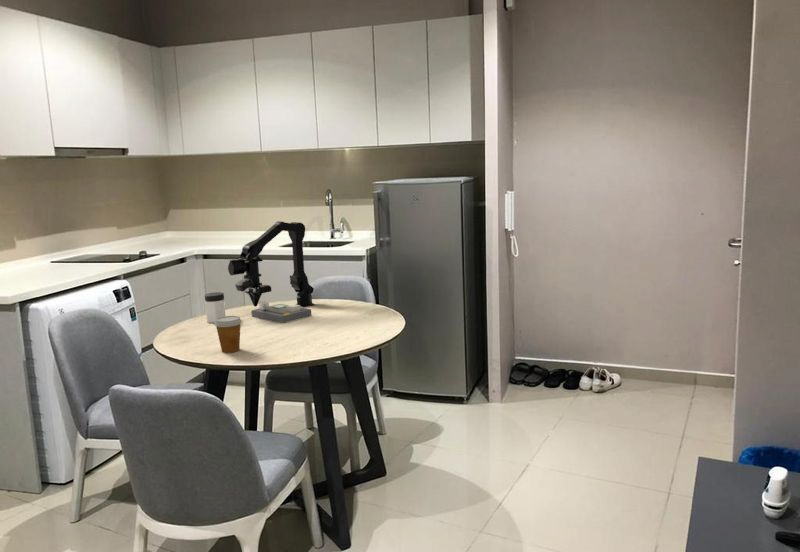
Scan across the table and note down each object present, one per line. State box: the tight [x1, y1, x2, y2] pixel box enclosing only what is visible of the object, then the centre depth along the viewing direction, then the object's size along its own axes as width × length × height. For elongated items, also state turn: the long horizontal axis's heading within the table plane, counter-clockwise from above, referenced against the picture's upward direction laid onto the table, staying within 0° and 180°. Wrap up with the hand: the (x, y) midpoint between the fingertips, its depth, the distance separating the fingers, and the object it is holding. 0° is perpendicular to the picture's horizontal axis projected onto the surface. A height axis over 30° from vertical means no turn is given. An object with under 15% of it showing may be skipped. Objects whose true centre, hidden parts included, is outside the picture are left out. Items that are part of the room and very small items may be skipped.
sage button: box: [272, 304, 286, 309], centre depth 297 cm, size 4×4×2 cm
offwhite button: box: [286, 304, 302, 312], centre depth 290 cm, size 4×4×2 cm
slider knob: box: [258, 301, 270, 310], centre depth 291 cm, size 3×3×3 cm
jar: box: [204, 291, 227, 324], centre depth 288 cm, size 9×8×12 cm
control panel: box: [251, 303, 312, 324], centre depth 291 cm, size 16×22×3 cm
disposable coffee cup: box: [214, 315, 242, 354], centre depth 239 cm, size 10×10×12 cm
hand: (255, 306), depth 296 cm, fingers closed
